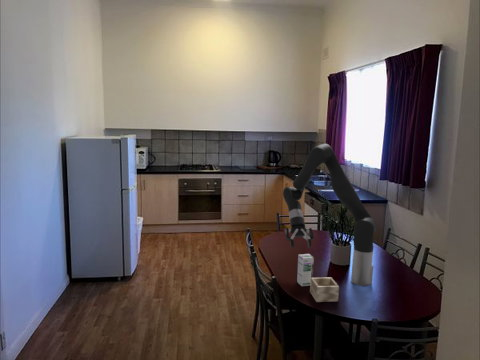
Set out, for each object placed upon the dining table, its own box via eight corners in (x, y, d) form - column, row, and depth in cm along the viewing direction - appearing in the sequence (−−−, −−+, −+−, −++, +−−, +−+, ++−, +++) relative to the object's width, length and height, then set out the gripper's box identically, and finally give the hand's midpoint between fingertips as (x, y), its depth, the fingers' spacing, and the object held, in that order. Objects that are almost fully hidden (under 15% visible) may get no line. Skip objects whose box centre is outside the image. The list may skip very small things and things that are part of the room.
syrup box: (301, 286, 188) (303, 258, 185) (296, 281, 193) (298, 253, 191) (312, 285, 189) (314, 257, 187) (307, 280, 195) (308, 253, 192)
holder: (330, 291, 184) (331, 277, 182) (338, 301, 174) (339, 286, 173) (309, 291, 182) (310, 277, 181) (316, 301, 172) (317, 287, 171)
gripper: (285, 215, 203) (289, 243, 194) (311, 215, 205) (316, 243, 195) (282, 222, 209) (286, 250, 200) (307, 222, 211) (312, 250, 201)
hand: (301, 247), depth 197 cm, fingers open, 8 cm apart
